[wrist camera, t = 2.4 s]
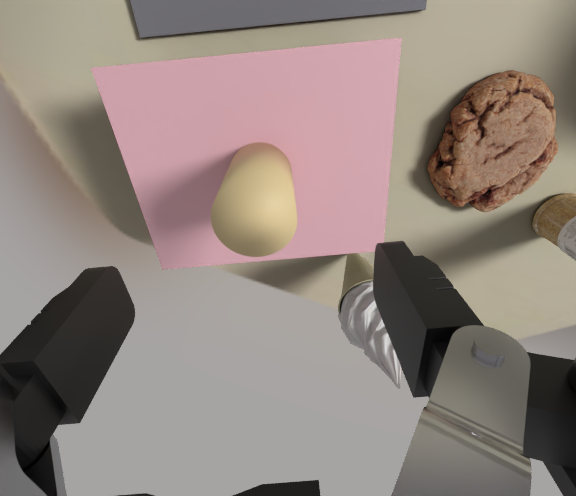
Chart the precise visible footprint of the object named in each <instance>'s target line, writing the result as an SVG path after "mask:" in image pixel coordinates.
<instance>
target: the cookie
mask: <svg viewBox="0 0 576 496" xmlns="http://www.w3.org/2000/svg"><path fill="white" fill-rule="evenodd" d="M553 104H554V97H553V94H552V93H551V91H550V90H549V88H548V86H547V85H546V84H545V83H544V82H543V81H542V80H541V79H540V78H538V77H536V76H534V75H529V74H525V73H522V72H517V71H513V70H511V71H505V72H502V73H496V74H494V75H492V76H489V77H487V78H486V79H484V80H482V81H481V82H478V83H476V84H475V85H474V86H473V87H471V88H470V89H469V90H468V92H467V93H466V95H465V96H464V97H463V98H462V100H461V102H460V104H458V105H457V106H455V107H454V108H453V110H452V111H451V113H450V115H451V119H452V120H451V122H449V123H447V126H446V128H445V133H444V134H443V139H442V140H441V142H440V144H439V147H438V150H437V151H435V152H434V153H433V154H432V156H431V158H430V160H429V162H428V167H427V170H428V172H429V174H430V180H431V181H432V183H433V185H434V187H435V190H436V191H437V192H438V194H439V195H440V196H441V197H443V199H444V198H445V199H447V200H448V201H450V203H451V204H453V205H454V206H456V207H463V206H464V205H465V204H466V203H467V202H469V203H470V204H471V205H472V206H473V207H474V208H475V209H477V210H479V211H482V212H489V211H491V210H494V209H496V208H498V207H500V206H501V205H503V204H504V203H506V202H508V201H509V200H511V199H512V198H514V197H515V196H516V195H517V194H521V193H522V192H524V191H525V190H527V189H528V188H529V187H530V186H531V185H533V184H534V183H535V182H536V181H537V180H538V179H539V177H540V175H541V174H542V173H543V172H544V171H545V170H546V169H547V167H548V164H549V163H550V162H552V161H553V157H554V156H555V155H556V154H557V151H558V144H557V141H556V139H555V137H554V133H555V122H556V111H555V108H554V107H553Z"/></svg>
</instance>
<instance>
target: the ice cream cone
mask: <svg viewBox="0 0 576 496" xmlns="http://www.w3.org/2000/svg"><path fill="white" fill-rule="evenodd" d="M373 275H374V267H373V266H372V265H371V264H370V263H369V262H368V261H367V260H365V259H364V258H363V257H362V256H361V255H360V254H358V253H351V254H347V260H346V267H345V274H344V282H343V289H342V295H341V299H340V301H339V305H338V312H339V315H338V316H339V320H340V322H341V328H342V330H343V332H344V333H345V335H346V337H347V338H348V340H349V341H350V343H351V344H353V345H355V346H357V347H360V348H362V349H364V353H365V355H367V356H368V357H369V358H370V360H371V361H372V362H374V363H375V364H377V365H378V366H379V367H380V368H381V369H382V370H383V371H384V372H385V373H386V374H387V376H388V377H389V378H390V379H391V380H392V381H393V382H394V384H395V385H396V386H397V387H398V388H400V375H401V365H400V363H399V360H398V358H397V355H396V353H395V350H394V348H393V345H392V343H391V340H390V338H389V335H388V333H387V330H386V328H385V325H384V323H383V320H382V318H381V315H380V313H379V310H378V308H377V306H376V303H375V299H374V294H373Z"/></svg>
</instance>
